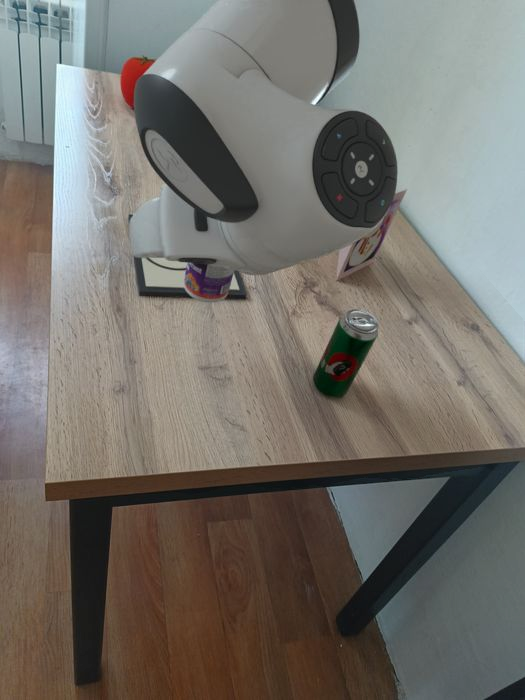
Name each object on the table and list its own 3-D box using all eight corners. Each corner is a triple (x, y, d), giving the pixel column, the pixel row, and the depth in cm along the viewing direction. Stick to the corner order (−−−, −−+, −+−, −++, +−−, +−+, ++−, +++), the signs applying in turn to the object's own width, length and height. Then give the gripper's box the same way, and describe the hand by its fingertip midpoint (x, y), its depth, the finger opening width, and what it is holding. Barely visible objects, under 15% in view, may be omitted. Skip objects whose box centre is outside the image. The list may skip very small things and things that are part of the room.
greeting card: (340, 283, 91) (374, 205, 81) (308, 260, 94) (337, 182, 84) (376, 265, 99) (411, 191, 89) (345, 243, 102) (376, 170, 92)
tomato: (169, 121, 121) (175, 71, 114) (121, 115, 117) (124, 62, 110) (162, 102, 128) (167, 53, 121) (116, 95, 124) (119, 45, 117)
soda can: (353, 397, 73) (389, 333, 65) (321, 402, 70) (354, 336, 62) (336, 370, 76) (368, 305, 68) (305, 374, 74) (334, 307, 65)
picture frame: (139, 295, 77) (139, 289, 76) (128, 218, 90) (128, 212, 89) (245, 299, 82) (247, 293, 81) (220, 225, 95) (221, 220, 94)
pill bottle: (178, 275, 64) (190, 203, 58) (220, 275, 66) (237, 205, 60) (189, 305, 61) (204, 231, 54) (233, 303, 63) (253, 232, 57)
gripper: (358, 194, 52) (294, 224, 64) (144, 179, 44) (119, 217, 56) (361, 260, 52) (296, 277, 64) (148, 257, 44) (122, 278, 56)
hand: (212, 249), depth 60 cm, fingers closed on pill bottle, 5 cm apart
